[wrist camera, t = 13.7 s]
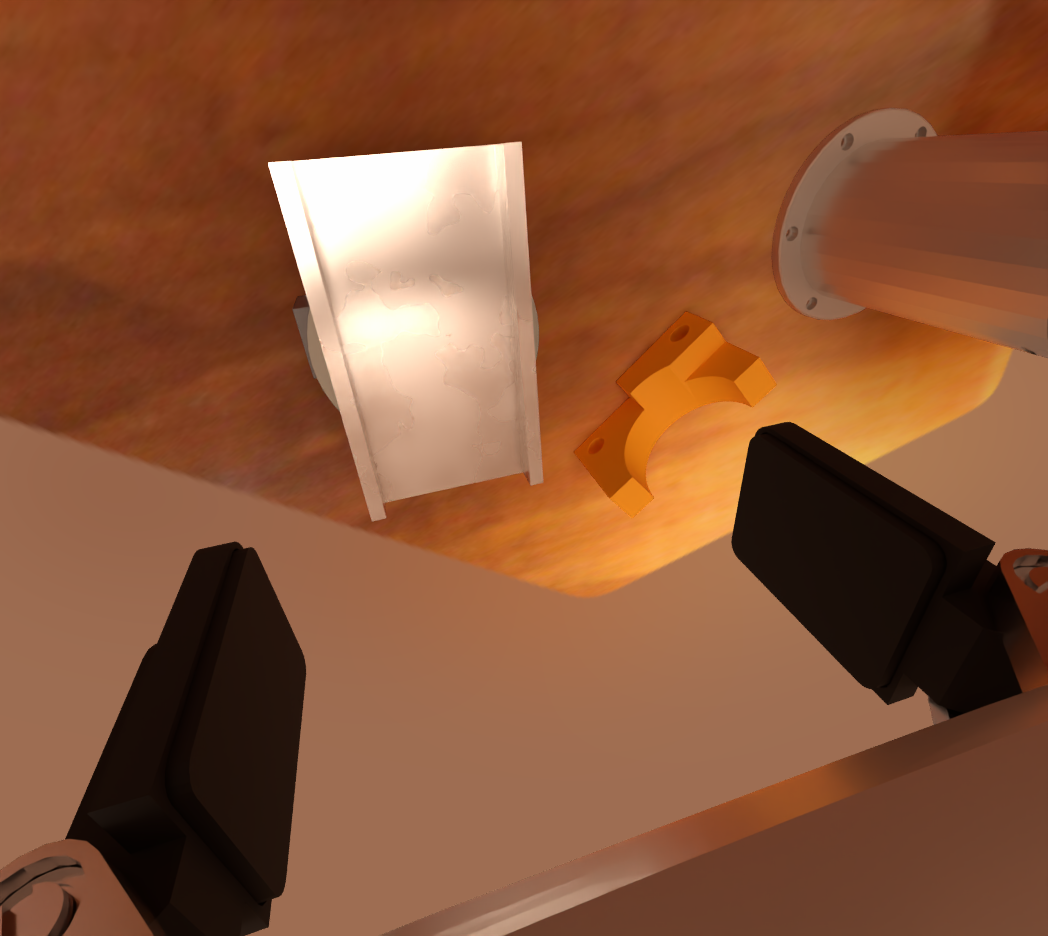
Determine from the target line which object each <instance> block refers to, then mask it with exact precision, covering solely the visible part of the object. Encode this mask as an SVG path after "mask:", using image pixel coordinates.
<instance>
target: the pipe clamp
mask: <svg viewBox="0 0 1048 936" xmlns="http://www.w3.org/2000/svg"><path fill="white" fill-rule="evenodd" d="M616 383H617V384H618V385H619V386H620V387H621V388H622V389H623V390H624V391H625V393H626V394H627V395H628V396H629V398H628V399H627V400H626V401H625V402H624V403H623V404H622V405H621V406H620V407H619V408H618V409H617V410H616V411H615V412H614V413H613V414H612V415H611V416H610V417H609V418H608V419H607V420H606V421H605V422H604V423H603V424H602V425H601V426H600V427H599V428H597V429H596V430H595V431H594V432H593V433H592V434H591V435H590V436H589V437H588V438H587V439H586V440H585V441H584V442H583V443H582V444H581V445H580V446H579V447H578V448H577V449H576V450H575V451H574V453H575V455H576V456H577V457H578V458H579V460H580V461H581V462H582V464H583V465H584V466H585V467H586V469H587V470H588V471H589V473H590V474H591V475H592V477H593V478H594V479H595V480H596V482H597V483H598V484H599V486H600V487H601V488H602V489H603V491H604V492H605V493H606V495H607V496H608V497H609V498H610V499H611V500H612V501H613V502H614V503H615V504H616V505H618V506H619V507H620V508H621V509H622V510H623V511H624V512H626V513H627V514H628V515H629V516H630V517H631V518H633V517H634V516H635V515H637V514H638V513H639V512H640V511H641V510H642V509H643V508H644V507H645V506H646V505H647V504H648V503H650V502H651V501H652V500H653V499H654V497H653V495H652V494H651V492H650V491H649V488H648V486H647V482H646V465H647V461H648V458H649V455H650V453H651V450H652V448H653V447H654V445H655V443H656V442H657V440H658V439H659V437H660V436H661V435H662V434H663V432H664V431H665V430H666V429H667V428H668V427H669V426H670V425H671V424H673V423H674V422H675V421H676V420H677V419H679V418H680V417H682V416H683V415H685V414H686V413H688V412H690V411H692V410H694V409H696V408H698V407H701V406H704V405H707V404H710V403H715V402H723V401H733V402H739V403H743V404H746V405H748V406H750V407H754V406H755V405H756V404H757V403H758V402H759V401H760V400H761V399H762V398H763V397H764V396H765V395H767V394H768V393H769V392H770V391H771V390H772V389H773V388H774V387H775V386H776V385H777V384H776V382H775V381H774V379H773V378H772V376H771V374H770V373H769V371H768V370H767V368H766V367H765V365H764V364H763V362H762V361H761V359H760V357H757V356H755V355H753V354H751V353H749V352H747V351H745V350H743V349H741V348H738V347H736V346H734V345H732V344H730V343H728V342H726V341H725V340H724V338H723V337H722V335H721V334H720V332H719V331H718V329H717V328H716V326H715V325H714V323H712V322H710V321H708V320H705V319H703V318H701V317H699V316H696V315H694V314H692V313H689V312H687V311H686V312H685V313H684V314H683V315H682V316H681V317H680V318H679V319H678V320H677V321H676V322H675V323H674V324H673V325H672V326H671V327H670V328H669V329H668V330H667V331H666V332H665V333H664V334H663V335H662V336H661V337H660V338H659V339H658V340H657V341H656V342H655V343H654V344H653V345H652V346H651V347H650V348H649V349H648V350H647V351H646V352H645V353H644V354H643V355H642V356H641V357H640V358H639V359H638V360H637V361H636V362H635V363H634V364H633V365H632V366H631V367H630V368H629V369H628V370H627V371H626V372H625V373H624V374H623V375H622V376H621V377H620V378H619V379H618V380H617V381H616Z"/></svg>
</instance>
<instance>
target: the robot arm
mask: <svg viewBox="0 0 1048 936" xmlns="http://www.w3.org/2000/svg"><path fill="white" fill-rule="evenodd" d="M787 231H788V232H787ZM786 234H787V235H786ZM772 267H773V275H774V278H775V282H776V285H777V288H778V290H779V292H780V294H781V295H782V297H783V299H784V300H785V302H786V303H787V304H788V305H789V306H790V307H792V308H793V309H794V310H795V311H797V312H799V313H801V314H803V315H805V316H808V317H812V318H815V319H818V320H835V319H841V318H845V317H848V316H851V315H853V314H856V313H858V312H860V311H862V310H864V309H865V308H869V309H873V310H877V311H880V312H884V313H887V314H891V315H895V316H898V317H902V318H905V319H909V320H913V321H916V322H920V323H923V324H927V325H931V326H934V327H938V328H941V329H945V330H948V331H952V332H956V333H959V334H963V335H966V336H970V337H974V338H977V339H981V340H984V341H988V342H992V343H995V344H999V345H1002V346H1006V347H1009V348H1013V349H1017V350H1020V351H1024V352H1027V353H1031V354H1035V355H1038V356H1042V357H1046V358H1048V131H1032V132H1012V133H991V134H971V135H950V136H938V135H937V134H936V132H935V130H934V129H933V127H932V125H931V124H930V123H929V122H928V121H927V120H926V119H924V118H923V117H922V116H921V115H920V114H918V113H915V112H913V111H910V110H908V109H900V108H886V109H878V110H872V111H870V112H866V113H863V114H860V115H858V116H856V117H854V118H852V119H850V120H849V121H847V122H845V123H844V124H842V125H840V126H839V127H838V128H837V129H835V130H834V131H833V132H832V133H831V134H829V135H828V136H827V137H826V138H825V139H824V140H823V141H822V142H821V143H820V144H819V145H818V146H817V147H816V148H815V149H814V151H813V152H812V153H811V154H810V155H809V156H808V158H807V159H806V161H805V162H804V163H803V165H802V166H801V168H800V169H799V171H798V172H797V174H796V175H795V177H794V179H793V181H792V183H791V185H790V187H789V189H788V191H787V193H786V195H785V197H784V200H783V203H782V205H781V208H780V211H779V214H778V217H777V221H776V225H775V230H774V235H773V243H772ZM994 545H995V542H994V541H992V540H990V539H989V538H987V537H985V536H984V535H982V534H980V533H979V532H977V531H975V530H973V529H972V528H970V527H968V526H967V525H965V524H963V523H962V522H960V521H958V520H957V519H955V518H953V517H952V516H950V515H948V514H946V513H945V512H943V511H941V510H940V509H938V508H936V507H935V506H933V505H931V504H930V503H928V502H926V501H924V500H923V499H921V498H919V497H918V496H916V495H914V494H912V493H911V492H909V491H908V490H906V489H904V488H903V487H901V486H899V485H897V484H896V483H894V482H892V481H891V480H889V479H887V478H885V477H884V476H882V475H881V474H879V473H877V472H875V471H874V470H872V469H870V468H868V467H867V466H865V465H864V464H862V463H860V462H859V461H857V460H855V459H853V458H852V457H850V456H848V455H847V454H845V453H843V452H842V451H840V450H838V449H837V448H835V447H833V446H831V445H830V444H828V443H826V442H825V441H823V440H821V439H820V438H818V437H816V436H815V435H813V434H811V433H809V432H808V431H806V430H804V429H803V428H801V427H799V426H798V425H796V424H794V423H791V422H784V423H780V424H775V425H771V426H766V427H762V428H760V429H759V430H758V431H757V432H756V434H755V437H753V438H752V439H751V440H750V443H749V447H748V453H747V458H746V463H745V469H744V474H743V480H742V485H741V491H740V496H739V502H738V507H737V513H736V518H735V524H734V529H733V535H732V548H733V551H734V553H735V555H736V556H737V558H738V559H739V560H740V561H741V562H742V563H743V564H744V565H745V566H746V567H747V568H748V569H749V570H750V571H751V572H752V573H753V574H754V575H755V576H756V577H757V578H758V579H759V580H760V581H761V582H762V583H763V584H764V586H766V588H767V589H768V590H769V591H770V592H771V593H772V594H773V595H774V596H775V597H776V598H777V599H778V600H779V601H780V602H781V603H782V604H783V605H784V606H785V607H786V608H787V609H788V610H789V611H790V612H791V613H792V614H793V615H794V616H795V617H796V618H797V620H798V621H799V622H800V623H801V624H802V625H803V626H804V627H805V628H806V629H807V630H808V631H809V632H810V633H811V634H812V635H813V636H814V637H815V638H816V639H817V640H818V641H819V642H820V643H821V644H822V645H823V646H824V647H825V648H826V649H827V650H828V651H829V652H830V654H831V655H832V656H833V657H834V658H835V659H836V660H837V661H838V662H839V663H840V664H841V665H842V666H843V667H844V668H845V669H846V670H847V671H848V672H849V673H850V674H851V675H852V676H853V677H854V678H855V679H856V680H857V681H858V682H859V683H860V684H861V685H862V686H864V687H866V688H869V689H872V690H873V691H874V692H875V693H876V694H877V695H878V696H879V697H880V698H881V699H882V700H883V701H884V702H885V703H886V704H887V705H889V704H892V703H895V702H897V701H900V700H903V699H906V698H909V697H912V696H913V695H914V694H915V692H916V690H917V687H919V688H920V689H922V691H924V692H925V693H926V694H927V695H928V702H929V706H930V710H931V715H932V720H933V724H934V725H932V726H930V727H927V728H924V729H922V730H919V731H916V732H914V733H911V734H908V735H905V736H903V737H900V738H897V739H894V740H892V741H889V742H886V743H884V744H881V745H878V746H875V747H873V748H870V749H867V750H865V751H862V752H859V753H857V754H854V755H851V756H848V757H846V758H843V759H840V760H838V761H835V762H832V763H830V764H827V765H824V766H822V767H819V768H816V769H814V770H811V771H808V772H806V773H803V774H800V775H798V776H795V777H792V778H790V779H787V780H784V781H782V782H779V783H776V784H774V785H771V786H768V787H766V788H763V789H760V790H758V791H755V792H752V793H750V794H747V795H744V796H742V797H739V798H736V799H734V800H731V801H728V802H726V803H723V804H721V805H718V806H715V807H712V808H710V809H707V810H705V811H702V812H700V813H697V814H694V815H691V816H688V817H686V818H683V819H681V820H678V821H676V822H673V823H670V824H667V825H665V826H662V827H659V828H657V829H654V830H651V831H649V832H646V833H643V834H641V835H638V836H636V837H633V838H630V839H628V840H625V841H622V842H620V843H617V844H615V845H612V846H609V847H607V848H604V849H601V850H599V851H596V852H593V853H591V854H588V855H586V856H583V857H581V858H578V859H575V860H573V861H570V862H567V863H565V864H562V865H559V866H557V867H554V868H552V869H549V870H546V871H544V872H541V873H539V874H536V875H533V876H531V877H528V878H525V879H523V880H520V881H518V882H515V883H512V884H510V885H507V886H505V887H502V888H499V889H497V890H494V891H491V892H489V893H486V894H483V895H481V896H478V897H476V898H473V899H470V900H468V901H465V902H463V903H460V904H457V905H455V906H452V907H449V908H447V909H444V910H442V911H439V912H437V913H435V914H432V915H429V916H427V917H424V918H422V919H419V920H417V921H414V922H412V923H409V924H407V925H404V926H402V927H399V928H397V929H395V930H392V931H389V932H387V933H384V934H382V935H379V936H1048V550H1041V549H1031V548H1025V549H1014V550H1012V551H1009V552H1007V553H1005V554H1004V555H1003V557H1002V558H1001V560H1000V561H999V563H998V565H997V566H995V565H994V564H992V563H991V562H989V561H988V560H987V557H988V556H989V554H990V552H991V550H992V548H993V546H994ZM305 680H306V665H305V659H304V655H303V653H302V650H301V648H300V646H299V644H298V641H297V639H296V637H295V635H294V633H293V631H292V628H291V626H290V624H289V622H288V620H287V617H286V615H285V613H284V611H283V609H282V607H281V605H280V602H279V600H278V598H277V596H276V594H275V591H274V589H273V587H272V585H271V583H270V581H269V579H268V576H267V574H266V572H265V570H264V567H263V565H262V563H261V561H260V559H259V557H258V554H257V552H256V551H255V550H254V548H252V547H250V548H245V549H243V547H242V546H241V545H240V544H239V543H238V542H232V543H227V544H222V545H217V546H213V547H208V548H204V549H199V550H198V551H196V553H195V554H194V556H193V558H192V561H191V563H190V565H189V568H188V570H187V573H186V575H185V578H184V580H183V583H182V585H181V587H180V590H179V592H178V594H177V597H176V599H175V602H174V604H173V607H172V609H171V611H170V614H169V616H168V619H167V621H166V623H165V626H164V628H163V631H162V633H161V636H160V638H159V640H158V643H157V644H155V645H153V646H152V647H151V648H149V649H148V651H147V653H146V654H145V656H144V658H143V659H142V662H141V664H140V666H139V669H138V671H137V673H136V676H135V678H134V680H133V683H132V686H131V688H130V690H129V692H128V694H127V697H126V699H125V701H124V704H123V706H122V708H121V711H120V713H119V715H118V718H117V720H116V722H115V725H114V727H113V729H112V732H111V734H110V736H109V738H108V741H107V743H106V745H105V748H104V750H103V753H102V755H101V757H100V759H99V762H98V764H97V767H96V769H95V771H94V773H93V776H92V778H91V780H90V783H89V785H88V787H87V790H86V792H85V794H84V797H83V799H82V801H81V804H80V806H79V808H78V811H77V813H76V815H75V818H74V820H73V822H72V825H71V827H70V829H69V831H68V834H67V836H66V838H65V840H61V841H57V842H52V843H48V844H45V845H42V846H40V847H38V848H36V849H34V850H32V851H30V852H28V853H26V854H24V855H22V856H20V857H18V858H17V859H15V860H14V861H12V862H11V863H9V864H8V865H6V866H5V867H4V868H2V869H1V870H0V936H245V935H248V934H251V933H254V932H256V931H259V930H262V929H265V928H268V927H269V919H270V910H271V901H272V899H273V898H276V897H279V896H280V895H281V894H282V893H283V891H284V887H285V882H286V875H287V864H288V854H289V843H290V833H291V823H292V813H293V802H294V793H295V782H296V772H297V761H298V750H299V741H300V730H301V721H302V710H303V700H304V690H305Z"/></svg>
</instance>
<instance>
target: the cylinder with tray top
mask: <svg viewBox="0 0 1048 936" xmlns="http://www.w3.org/2000/svg"><path fill="white" fill-rule="evenodd" d="M268 165H269V168H270V172H271V175H272V179H273V182H274V185H275V189H276V192H277V196H278V199H279V203H280V206H281V210H282V213H283V216H284V220H285V223H286V227H287V230H288V234H289V237H290V241H291V244H292V247H293V251H294V254H295V258H296V261H297V265H298V268H299V272H300V275H301V278H302V282H303V285H304V289H305V292H306V296H298V297H297V299H296V302H295V304H294V307H293V312H294V316H295V319H296V322H297V325H298V329H299V332H300V335H301V338H302V342H303V345H304V348H305V351H306V354H307V358H308V361H309V364H310V367H311V371H312V374H313V377H314V379H315V378H317V379H318V381H319V383H320V385H321V387H322V388H323V390H324V392H325V394H326V395H327V396H328V398H329V399H330V400H331V402H332V403H333V405H334V406H335V407H336V408H337V409H338V410H339V411H340V413H341V416H342V420H343V423H344V427H345V430H346V434H347V437H348V440H349V444H350V447H351V451H352V454H353V458H354V461H355V465H356V468H357V471H358V475H359V478H360V482H361V485H362V489H363V492H364V496H365V499H366V502H367V506H368V509H369V513H370V516H371V520H372V521H376V520H380V519H385V518H386V510H385V502H390V501H394V500H399V499H404V498H408V497H413V496H417V495H422V494H426V493H431V492H435V491H440V490H445V489H449V488H454V487H458V486H463V485H467V484H472V483H476V482H481V481H486V480H490V479H495V478H499V477H504V476H508V475H513V474H517V473H522V472H523V473H524V475H525V477H526V478H527V480H528V482H529V484H530V485H535V484H539V483H543V471H542V455H541V439H540V424H539V408H538V392H537V377H536V358H537V352H538V345H539V325H538V317H537V312H536V308H535V304H534V300H533V297H532V295H531V283H530V267H529V251H528V236H527V220H526V204H525V189H524V173H523V157H522V142H514V143H502V144H495V145H484V146H472V147H460V148H448V149H435V150H423V151H411V152H399V153H387V154H375V155H363V156H351V157H339V158H327V159H315V160H303V161H284V162H272V163H268Z"/></svg>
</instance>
